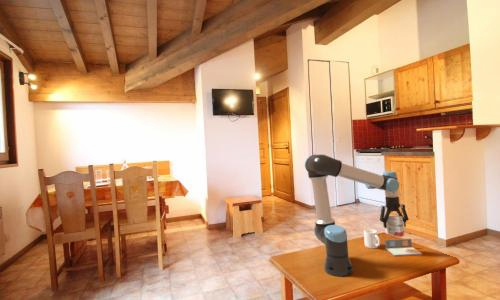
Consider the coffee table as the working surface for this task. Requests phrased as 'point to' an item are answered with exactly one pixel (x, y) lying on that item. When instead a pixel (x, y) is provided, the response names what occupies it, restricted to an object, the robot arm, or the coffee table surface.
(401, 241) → the laptop
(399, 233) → the ink box
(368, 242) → the mug
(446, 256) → the coffee table surface
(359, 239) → the coffee table surface
